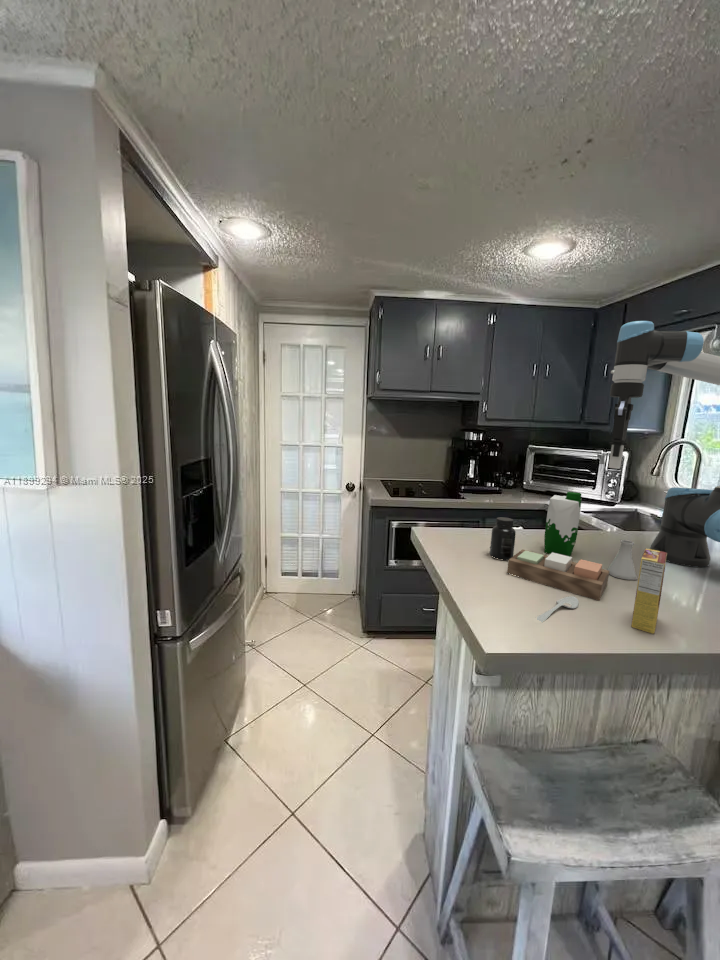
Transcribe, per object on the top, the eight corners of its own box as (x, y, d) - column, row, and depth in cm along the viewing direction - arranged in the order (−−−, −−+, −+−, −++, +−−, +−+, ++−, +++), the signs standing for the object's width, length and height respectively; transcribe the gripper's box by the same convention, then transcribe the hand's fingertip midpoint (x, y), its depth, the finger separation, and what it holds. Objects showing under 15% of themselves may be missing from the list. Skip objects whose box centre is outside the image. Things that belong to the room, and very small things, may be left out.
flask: (642, 582, 106) (648, 547, 104) (612, 579, 107) (618, 544, 105) (629, 572, 113) (635, 538, 111) (602, 569, 114) (607, 536, 112)
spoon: (583, 606, 91) (584, 599, 91) (536, 633, 79) (537, 625, 79) (565, 599, 95) (566, 593, 94) (517, 623, 82) (518, 616, 82)
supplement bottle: (515, 556, 121) (519, 518, 119) (510, 562, 116) (514, 523, 113) (492, 551, 125) (496, 514, 123) (486, 557, 119) (490, 519, 117)
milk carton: (571, 559, 120) (580, 496, 117) (540, 552, 125) (548, 491, 122) (575, 552, 127) (584, 492, 124) (545, 545, 133) (553, 487, 129)
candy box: (633, 611, 89) (645, 547, 86) (657, 618, 86) (669, 552, 84) (628, 626, 82) (640, 557, 80) (654, 635, 79) (667, 563, 77)
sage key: (542, 568, 110) (543, 554, 110) (534, 575, 105) (536, 561, 104) (523, 563, 113) (525, 550, 113) (515, 570, 108) (517, 556, 107)
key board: (607, 585, 103) (609, 570, 102) (599, 600, 94) (601, 584, 93) (521, 562, 116) (522, 549, 116) (506, 573, 107) (508, 559, 107)
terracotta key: (600, 579, 101) (602, 564, 101) (595, 587, 96) (597, 572, 95) (578, 573, 105) (580, 559, 104) (572, 581, 99) (574, 566, 98)
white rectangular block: (570, 571, 106) (572, 557, 105) (564, 579, 100) (566, 564, 100) (550, 566, 109) (552, 552, 108) (543, 573, 104) (545, 558, 103)
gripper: (614, 384, 114) (602, 464, 118) (608, 380, 104) (594, 468, 108) (646, 384, 109) (632, 467, 114) (642, 380, 100) (627, 471, 104)
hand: (614, 467), depth 111 cm, fingers closed
